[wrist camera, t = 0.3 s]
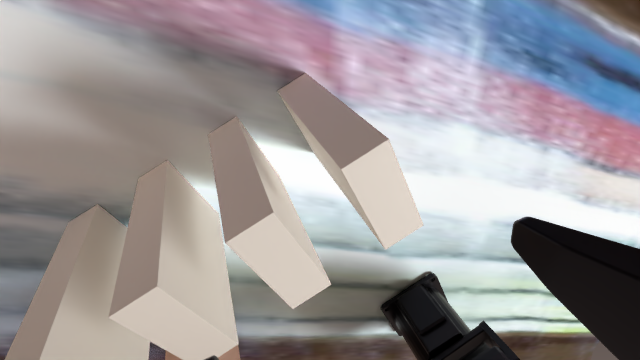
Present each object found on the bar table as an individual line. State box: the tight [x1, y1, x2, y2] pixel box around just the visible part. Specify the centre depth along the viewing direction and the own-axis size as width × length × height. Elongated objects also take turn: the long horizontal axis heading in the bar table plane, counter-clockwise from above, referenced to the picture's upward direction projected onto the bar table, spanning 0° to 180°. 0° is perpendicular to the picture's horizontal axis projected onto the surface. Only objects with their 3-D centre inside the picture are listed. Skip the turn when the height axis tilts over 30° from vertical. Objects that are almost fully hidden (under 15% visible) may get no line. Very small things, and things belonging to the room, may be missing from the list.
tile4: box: [108, 160, 239, 360], centre depth 17 cm, size 2×5×10 cm, turn 27°
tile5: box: [5, 204, 150, 360], centre depth 17 cm, size 2×5×10 cm, turn 27°
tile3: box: [208, 116, 331, 309], centre depth 17 cm, size 2×5×10 cm, turn 27°
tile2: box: [277, 73, 423, 250], centre depth 17 cm, size 2×5×10 cm, turn 27°
